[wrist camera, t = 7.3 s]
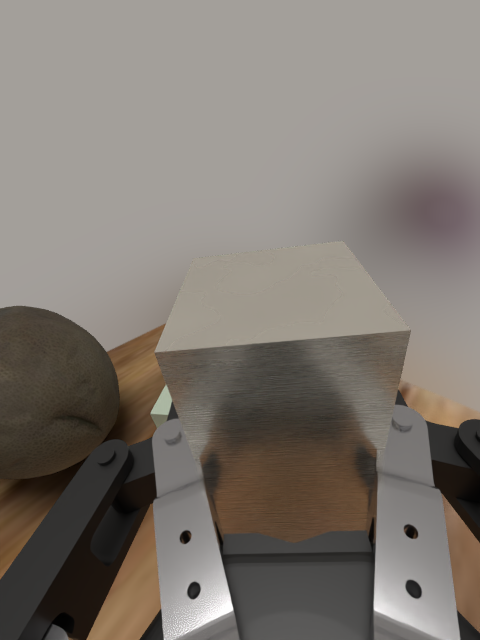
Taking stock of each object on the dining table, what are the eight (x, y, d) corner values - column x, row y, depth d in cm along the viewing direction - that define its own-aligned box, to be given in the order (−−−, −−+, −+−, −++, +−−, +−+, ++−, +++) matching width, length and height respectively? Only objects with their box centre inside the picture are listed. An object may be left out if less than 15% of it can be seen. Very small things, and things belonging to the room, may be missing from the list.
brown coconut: (131, 376, 38) (79, 266, 30) (147, 472, 27) (69, 337, 19) (8, 422, 34) (-89, 311, 26) (-35, 556, 23) (-228, 434, 15)
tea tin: (236, 571, 13) (154, 352, 6) (240, 459, 17) (193, 258, 10) (358, 570, 12) (411, 330, 6) (331, 455, 16) (343, 241, 10)
